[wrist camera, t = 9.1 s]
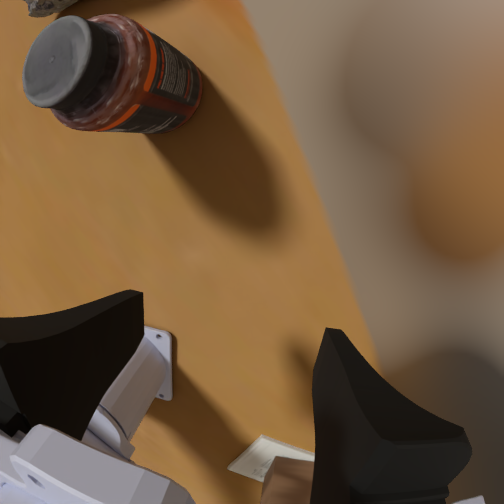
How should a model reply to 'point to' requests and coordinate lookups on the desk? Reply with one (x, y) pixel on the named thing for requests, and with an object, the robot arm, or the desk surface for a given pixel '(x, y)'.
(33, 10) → the mineral rock
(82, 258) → the desk surface
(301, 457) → the external hard drive
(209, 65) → the desk surface
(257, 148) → the desk surface
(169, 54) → the supplement bottle
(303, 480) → the walnut block
